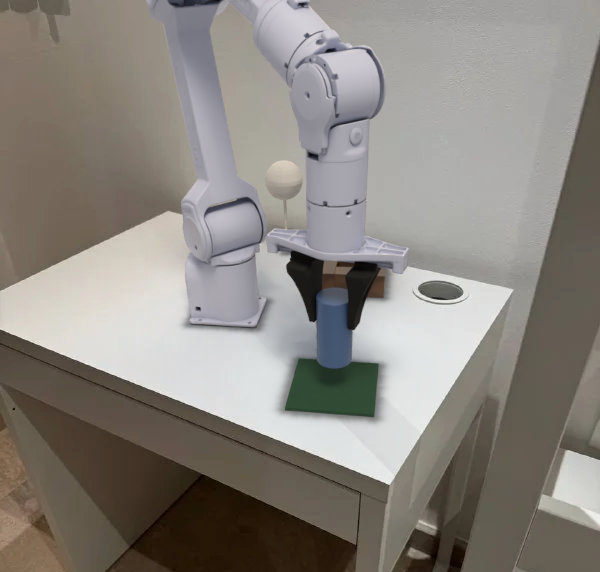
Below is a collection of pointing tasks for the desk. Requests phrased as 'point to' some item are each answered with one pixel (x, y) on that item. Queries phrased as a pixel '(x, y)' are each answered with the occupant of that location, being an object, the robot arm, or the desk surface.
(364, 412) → the mat
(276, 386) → the desk surface
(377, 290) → the holder
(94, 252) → the desk surface
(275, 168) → the lollipop
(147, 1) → the robot arm
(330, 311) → the peg
